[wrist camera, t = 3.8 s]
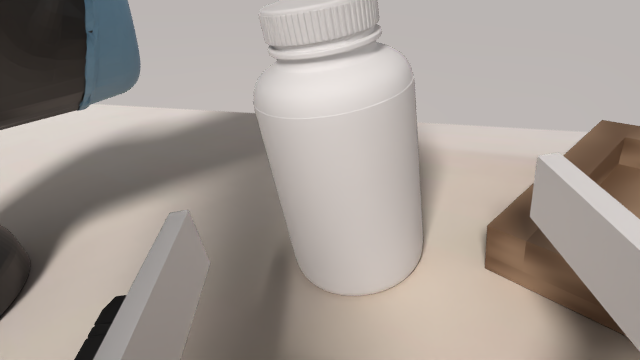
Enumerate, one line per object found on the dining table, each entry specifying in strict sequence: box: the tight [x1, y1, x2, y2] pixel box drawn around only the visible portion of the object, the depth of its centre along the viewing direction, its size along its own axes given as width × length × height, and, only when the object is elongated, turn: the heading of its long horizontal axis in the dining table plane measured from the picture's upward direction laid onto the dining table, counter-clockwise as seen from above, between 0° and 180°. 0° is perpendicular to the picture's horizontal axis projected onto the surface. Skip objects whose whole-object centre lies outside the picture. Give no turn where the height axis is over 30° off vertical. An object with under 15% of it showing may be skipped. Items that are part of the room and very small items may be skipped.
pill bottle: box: [254, 0, 423, 296], centre depth 21 cm, size 8×8×15 cm
